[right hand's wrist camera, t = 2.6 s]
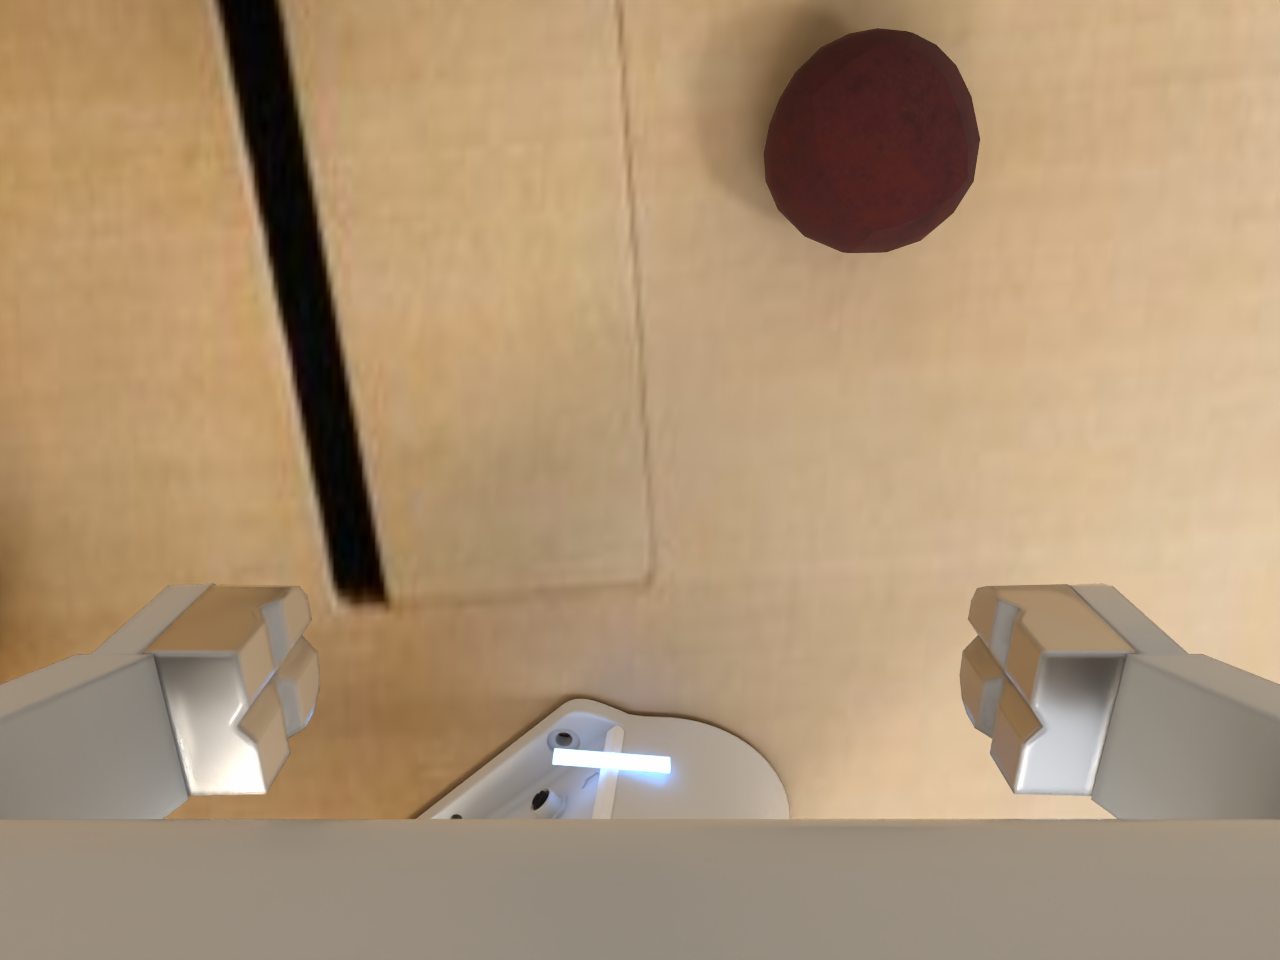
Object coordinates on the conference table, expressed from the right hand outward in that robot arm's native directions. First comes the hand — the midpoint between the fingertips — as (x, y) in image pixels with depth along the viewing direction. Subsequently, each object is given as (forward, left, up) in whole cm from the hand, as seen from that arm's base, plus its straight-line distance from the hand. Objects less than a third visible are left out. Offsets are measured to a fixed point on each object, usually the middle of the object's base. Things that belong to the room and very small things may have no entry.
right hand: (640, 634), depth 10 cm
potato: (+10, +1, -27) cm, 29 cm away
